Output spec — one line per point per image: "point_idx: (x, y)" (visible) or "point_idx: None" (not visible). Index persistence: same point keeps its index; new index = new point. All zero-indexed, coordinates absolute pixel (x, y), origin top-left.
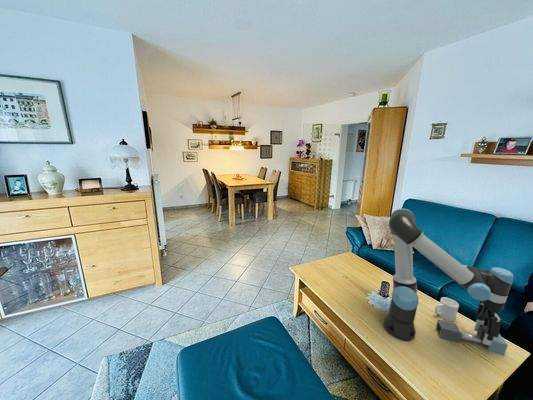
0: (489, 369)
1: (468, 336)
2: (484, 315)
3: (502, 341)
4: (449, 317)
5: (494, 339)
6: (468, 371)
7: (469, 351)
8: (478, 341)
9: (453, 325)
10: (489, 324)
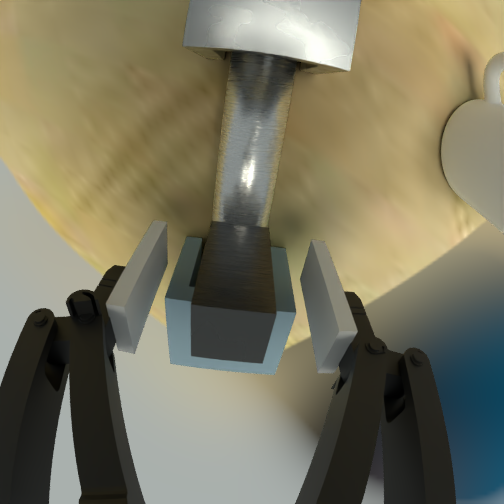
0: (44, 164)
1: (227, 141)
2: (318, 459)
3: (189, 354)
4: (462, 140)
5: (190, 322)
6: (4, 54)
7: (139, 104)
8: (213, 208)
9: (307, 21)
10: (74, 424)
